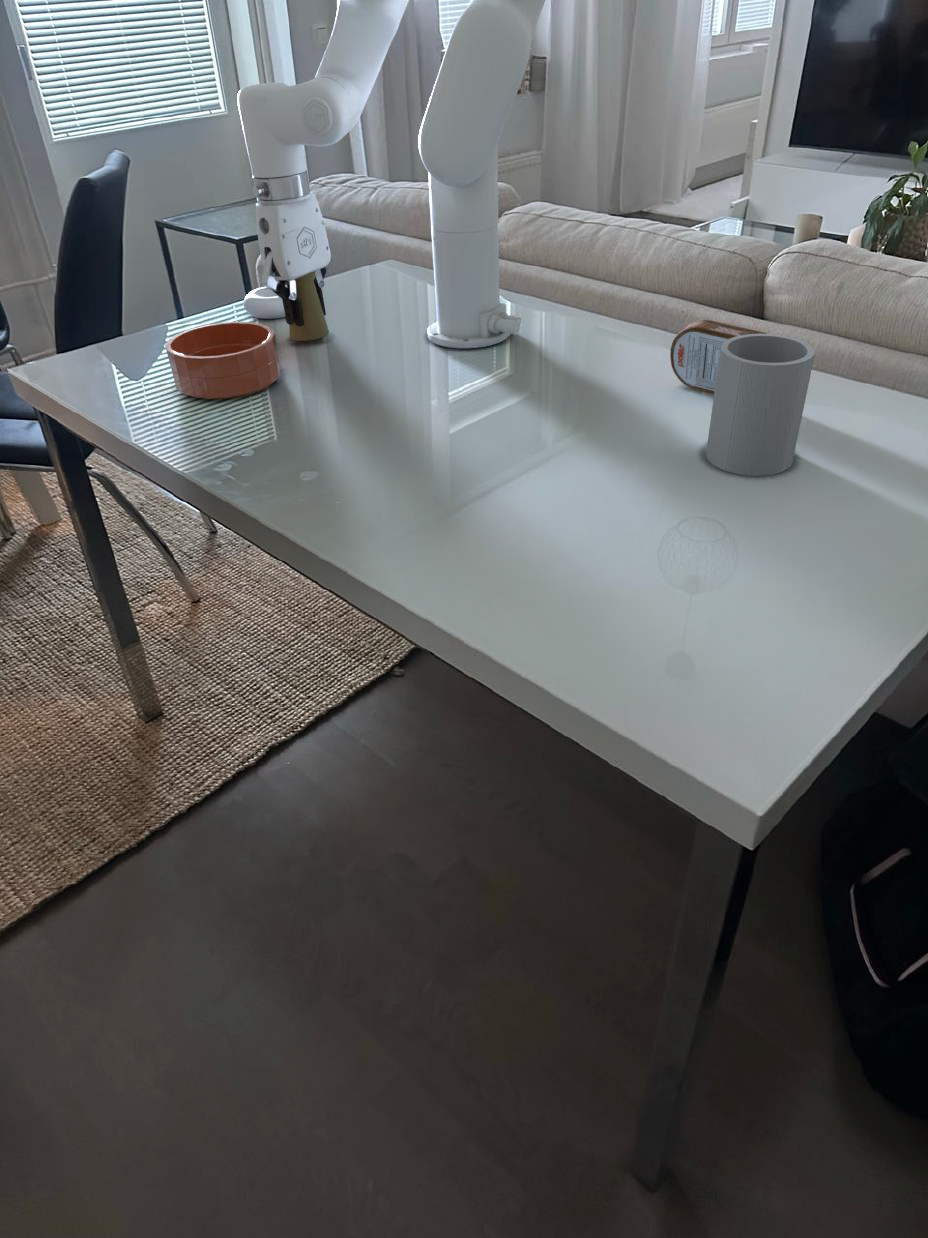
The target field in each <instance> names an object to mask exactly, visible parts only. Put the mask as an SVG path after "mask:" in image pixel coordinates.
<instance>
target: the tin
mask: <svg viewBox="0 0 928 1238" xmlns="http://www.w3.org/2000/svg"><path fill="white" fill-rule="evenodd" d="M747 334H768V333H767V332H764V331H760V330H756V329H750V328H747V327H740V326H738V325H737V326H736V325H732V324H728V323H724V322H721V321H715V320H711V319H698V320H695V321H693V322H691V323H689V324H688V325H687V326H686V327H684V328H683V329H682V330H680V331H679V332H678V333H677V334H676V335H675V337H674V338H673V339H672V341H671V345H670V351H669V359H670V366H671V368H672V371H673V373H674V375H675V376H676V378H677V379H678V380H679V381H680V382H681V383H682V384H683V385H685V386H686V387H688V388H689V389H693V390H696V391H700V392H704V393H706V394H711V395H714V392H715V385H716V378H717V370H718V363H719V356H720V349H721V345H722V343H723V342H724V341H726V340H728V339H730V338H733V337H736V336H741V335H747Z"/></svg>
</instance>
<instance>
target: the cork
mask: <svg viewBox="0 0 928 1238" xmlns="http://www.w3.org/2000/svg"><path fill="white" fill-rule="evenodd" d="M315 273H316V271H314V272H310V273H308V274H306V275H304V276H302V277H299V278H296V279H295V281H296V298H299V299H300V301H301V306H302V311H303V319H304V325H303V326H301V327H300V326H297V325H296V324H295V323H294V322H293V325H289V324H288V328H289V338H290V339H291V340H293V341H299V342H301V341H302V342H304V341H313V340H319V339H321V338H323V337H326V336H327V335H328V334H329V333H330V330H329V327H328V324H327V320H326V317H325V316H324V314H323V310H322V307H321V304H320V300H319V297H318V294H317V291H316V287H315V284H314V278H315ZM284 282H285V286H286V287H287V288H288V285H287V281H284Z"/></svg>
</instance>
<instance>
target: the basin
mask: <svg viewBox="0 0 928 1238" xmlns="http://www.w3.org/2000/svg"><path fill="white" fill-rule="evenodd" d="M165 350H166V354H167V358H168V362H169V365H170V369H171V373H172V377H173V381H174V385H175V389H176V390H177V391H178V392H180V393H181V394H183V395H186V396H189V397H192V398H193V397H194V398H197V399H201V400H226V399H227V400H228V399H236V398H240V397H244V396H249V395H251V394H252V395H253V394H254V393H257V392H260V391H261V390H263V389H266V388H267V387H269V386H270V385H272V384H274V382H276V381H277V380H278V379H279V378H280V377H281V375H282V374H281V373H282V366H281V361H280V356H279V351H278V344H277V340H276V334H275V331H274V330H273V328H271V327H270V326H268V325H266V324H263V323H259V322H253V321H225V322H217V323H210V324H205V325H201V326H197V327H193V328H189V329H187V330H184V331H182V332H179V333H177V334H175V335H174V336H172V337H171V338H169V339H168V341H167V342H166V344H165Z"/></svg>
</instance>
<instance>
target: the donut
mask: <svg viewBox="0 0 928 1238" xmlns="http://www.w3.org/2000/svg"><path fill="white" fill-rule="evenodd" d="M243 309H244V310H245V312H246V313H247V314H248V315H249V316H251V317H253V318H256V319H263V320H275V319H282V318H286V316H285V311H284V306H283V301H282V299H281V298H279V297H278V296H277V294H276V293H274V292H273V291H272V290H271V289H268V288H266V287H264V286H262V287H258V288H256V289H253V290H251V291H249V292H248V294H246V296H245V297H244V300H243Z"/></svg>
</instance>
